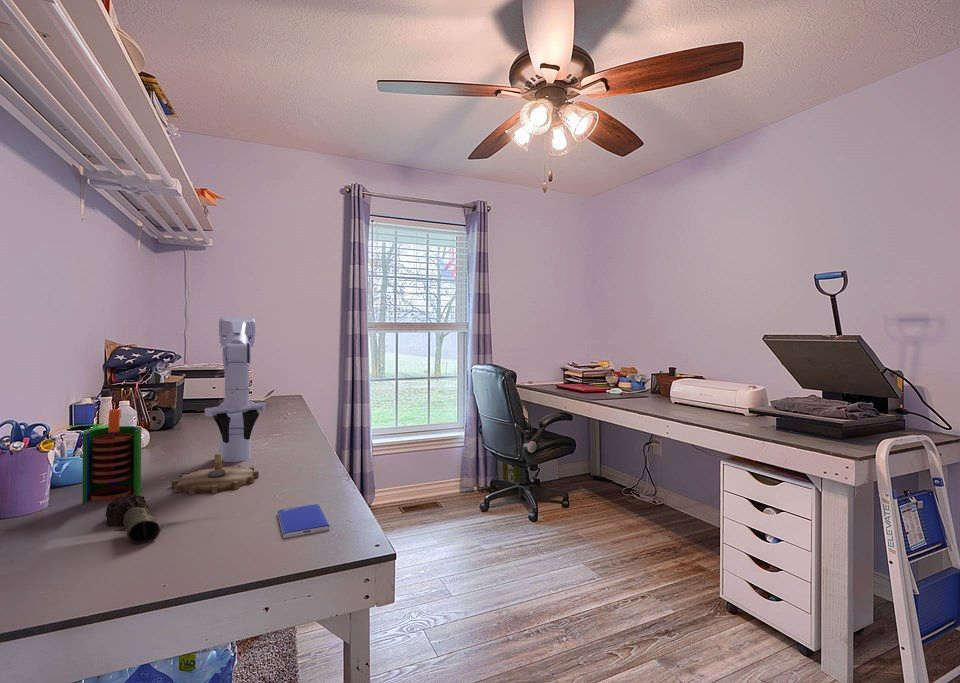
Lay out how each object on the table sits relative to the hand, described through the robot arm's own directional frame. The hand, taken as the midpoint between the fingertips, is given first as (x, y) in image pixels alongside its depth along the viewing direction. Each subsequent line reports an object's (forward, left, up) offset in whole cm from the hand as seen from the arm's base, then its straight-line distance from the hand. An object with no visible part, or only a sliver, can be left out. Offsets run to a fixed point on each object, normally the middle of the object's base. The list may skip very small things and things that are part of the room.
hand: (236, 440), depth 120 cm
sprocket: (+5, -6, -8) cm, 12 cm away
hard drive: (+41, -4, -10) cm, 42 cm away
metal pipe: (+20, -27, -10) cm, 35 cm away
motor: (-2, -26, -10) cm, 27 cm away
